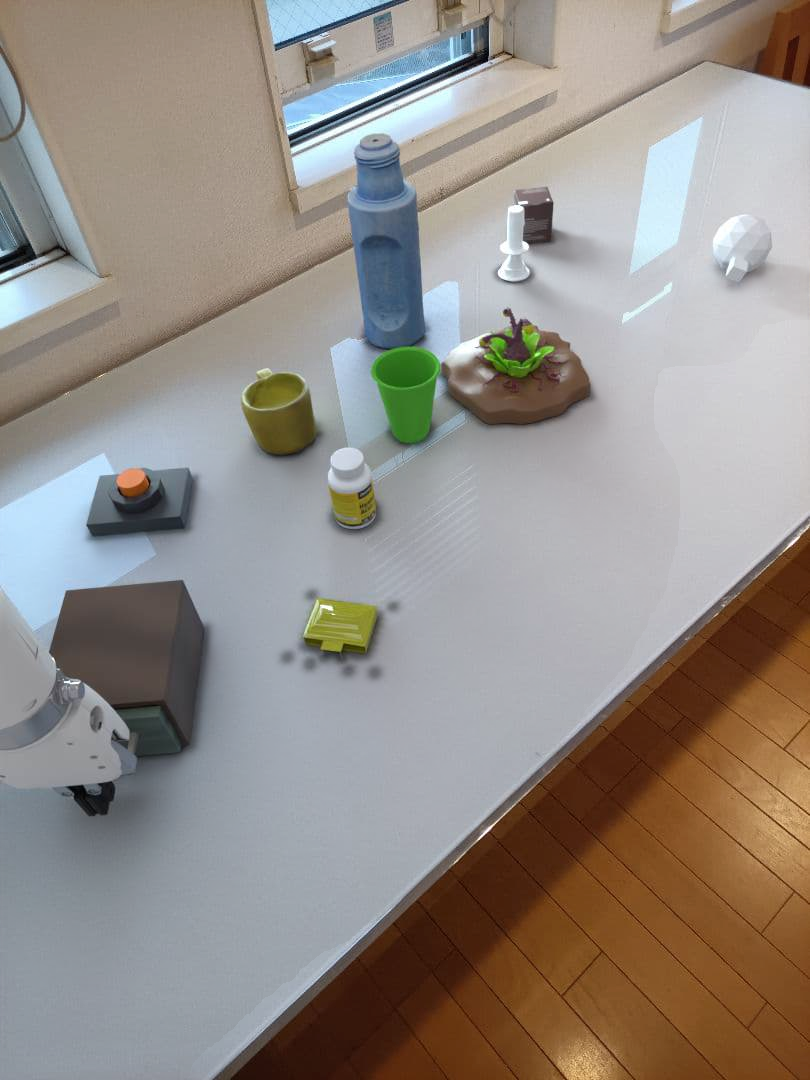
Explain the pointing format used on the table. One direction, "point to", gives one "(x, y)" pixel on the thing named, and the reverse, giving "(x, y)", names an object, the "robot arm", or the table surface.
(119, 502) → the control block
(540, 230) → the box
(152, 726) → the drawer
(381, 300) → the bottle
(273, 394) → the mug
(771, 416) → the table surface
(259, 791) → the table surface
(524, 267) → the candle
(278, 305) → the table surface
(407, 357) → the cup
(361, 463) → the supplement bottle
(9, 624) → the robot arm
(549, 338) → the plant
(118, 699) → the cabinet
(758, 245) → the white faceted rounded piece
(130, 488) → the button
